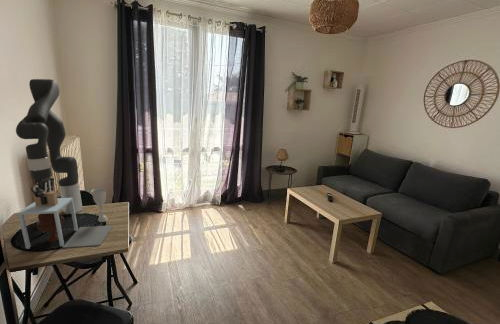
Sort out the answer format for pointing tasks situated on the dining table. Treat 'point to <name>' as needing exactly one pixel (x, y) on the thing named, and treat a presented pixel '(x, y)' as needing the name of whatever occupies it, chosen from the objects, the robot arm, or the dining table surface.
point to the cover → (51, 207)
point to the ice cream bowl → (49, 225)
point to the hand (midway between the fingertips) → (46, 202)
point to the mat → (88, 236)
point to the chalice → (100, 201)
